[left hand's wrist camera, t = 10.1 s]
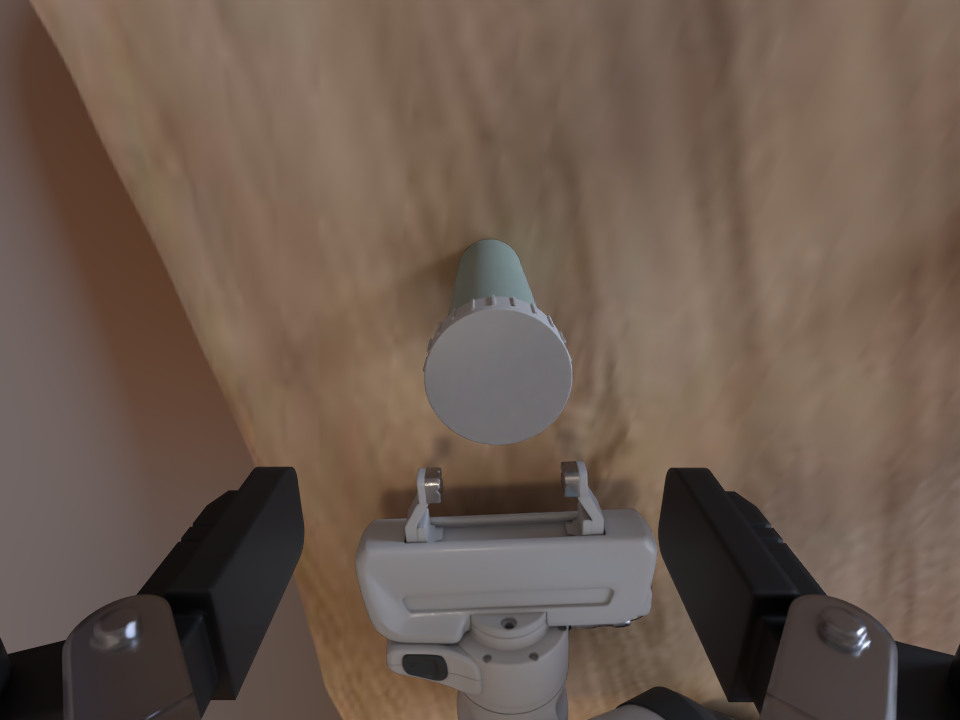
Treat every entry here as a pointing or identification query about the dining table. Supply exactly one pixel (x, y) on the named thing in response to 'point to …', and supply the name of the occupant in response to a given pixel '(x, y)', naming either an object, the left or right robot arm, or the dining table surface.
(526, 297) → the bottle
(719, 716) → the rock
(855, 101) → the dining table surface
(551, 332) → the lid
